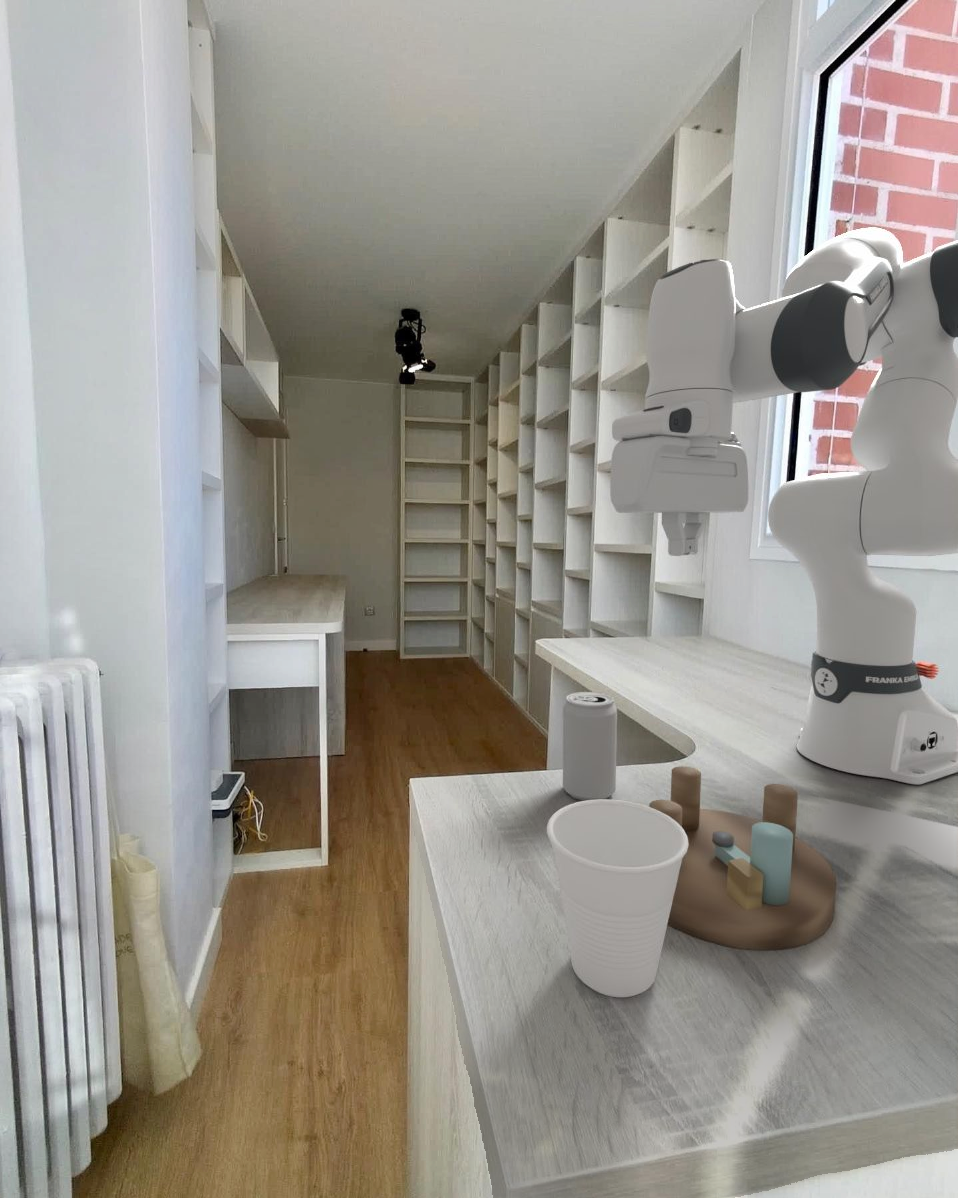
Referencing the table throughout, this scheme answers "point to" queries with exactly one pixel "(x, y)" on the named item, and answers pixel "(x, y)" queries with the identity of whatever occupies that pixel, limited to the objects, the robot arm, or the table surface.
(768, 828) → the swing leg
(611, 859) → the cup
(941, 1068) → the table surface
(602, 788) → the beverage can
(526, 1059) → the table surface
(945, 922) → the table surface
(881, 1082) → the table surface
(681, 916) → the stool seat
